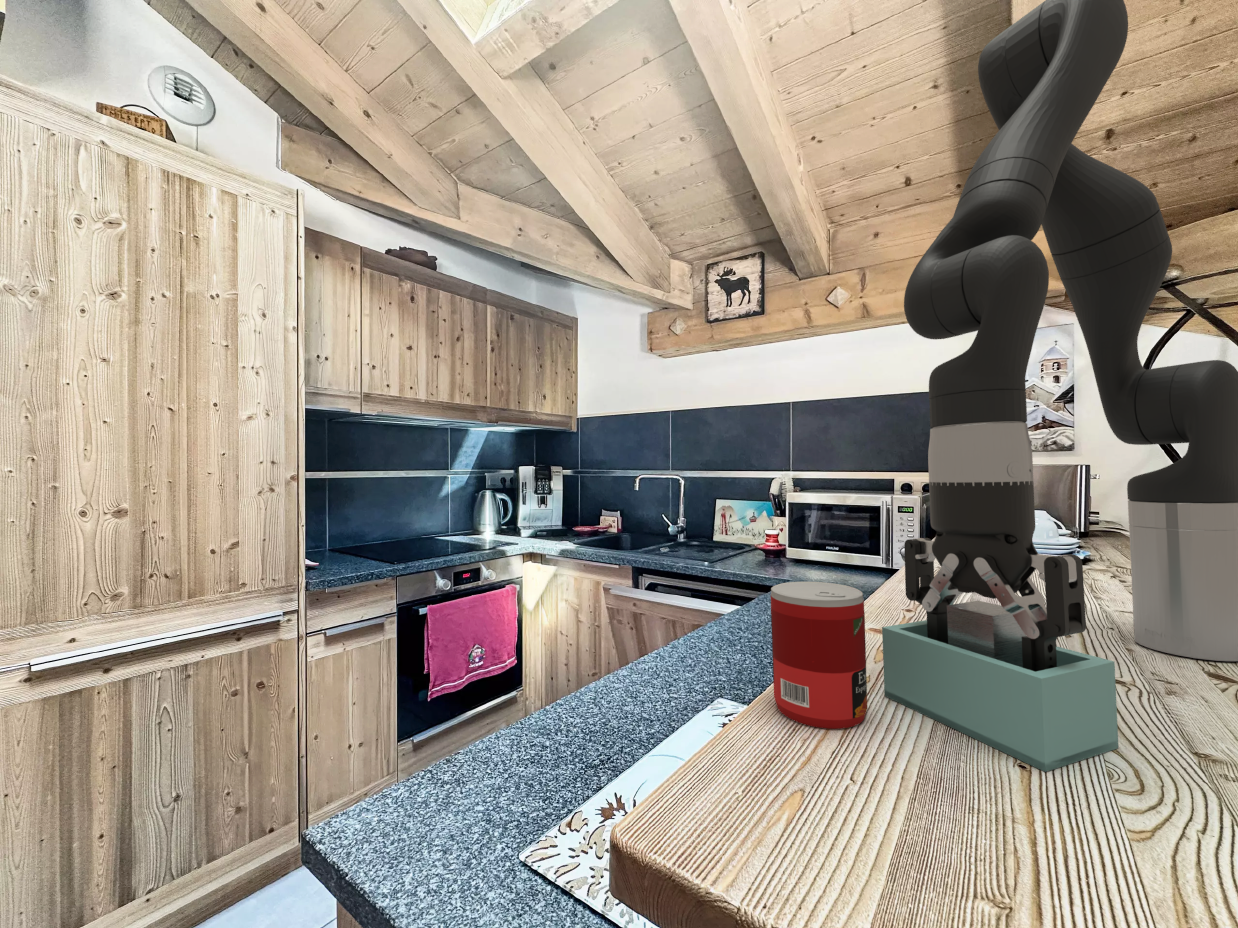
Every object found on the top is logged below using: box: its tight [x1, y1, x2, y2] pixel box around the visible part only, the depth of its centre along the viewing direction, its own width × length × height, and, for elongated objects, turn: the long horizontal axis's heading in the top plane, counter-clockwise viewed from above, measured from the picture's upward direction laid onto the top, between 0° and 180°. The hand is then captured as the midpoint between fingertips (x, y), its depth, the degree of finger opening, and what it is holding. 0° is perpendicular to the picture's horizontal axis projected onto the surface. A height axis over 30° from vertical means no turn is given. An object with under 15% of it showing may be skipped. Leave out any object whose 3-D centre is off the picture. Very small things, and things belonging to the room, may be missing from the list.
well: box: [881, 619, 1119, 773], centre depth 45 cm, size 8×14×7 cm, turn 20°
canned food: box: [770, 581, 868, 730], centre depth 48 cm, size 8×8×11 cm
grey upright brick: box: [947, 600, 1026, 668], centre depth 45 cm, size 4×4×9 cm
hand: (986, 665), depth 45 cm, fingers open, 7 cm apart
